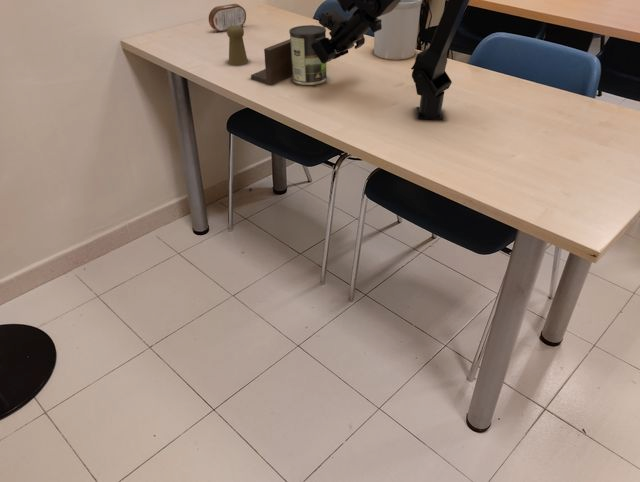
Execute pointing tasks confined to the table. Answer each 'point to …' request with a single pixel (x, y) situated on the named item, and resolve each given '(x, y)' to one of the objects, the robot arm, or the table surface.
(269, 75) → the walnut bookend
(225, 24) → the tin
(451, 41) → the robot arm
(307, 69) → the coffee can
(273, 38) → the table surface
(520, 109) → the table surface
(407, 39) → the utensil holder
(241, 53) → the olive green pawn
